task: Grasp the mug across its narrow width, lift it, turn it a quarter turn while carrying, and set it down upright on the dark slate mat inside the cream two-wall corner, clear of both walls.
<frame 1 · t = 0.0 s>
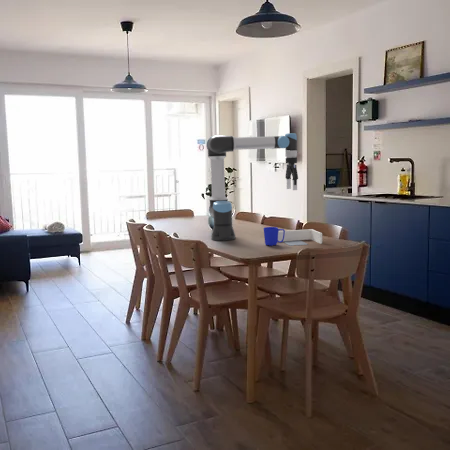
hand: (291, 189, 349), 28 cm above the table, fingers open, 13 cm apart
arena: (295, 242, 310), on the table
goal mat: (295, 243, 308), on the table
mug: (274, 245, 304), on the table
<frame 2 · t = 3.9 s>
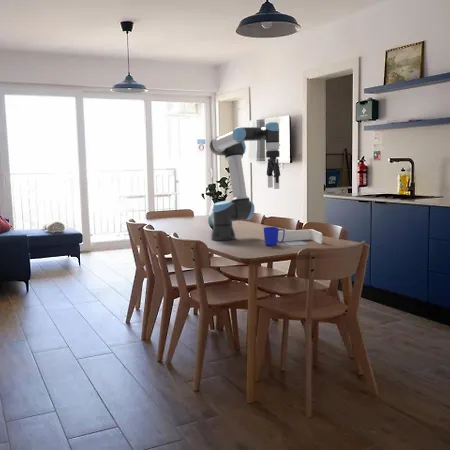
hand: (273, 188, 299), 33 cm above the table, fingers open, 13 cm apart
nothing on the table moved.
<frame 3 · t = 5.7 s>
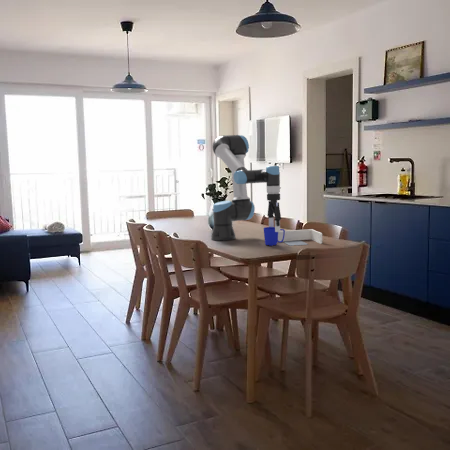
hand: (274, 230, 302), 9 cm above the table, fingers open, 13 cm apart
nothing on the table moved.
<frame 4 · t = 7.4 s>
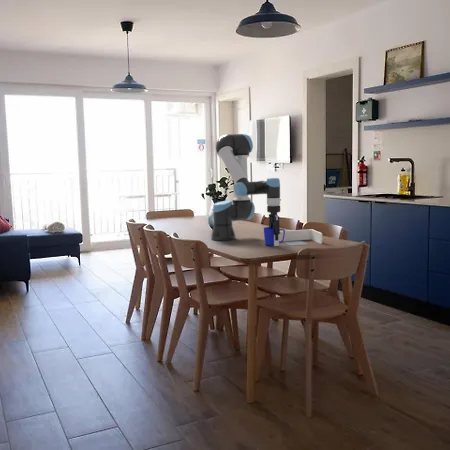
hand: (274, 244, 304), 0 cm above the table, fingers open, 8 cm apart
mug: (274, 245, 303), on the table, touching gripper
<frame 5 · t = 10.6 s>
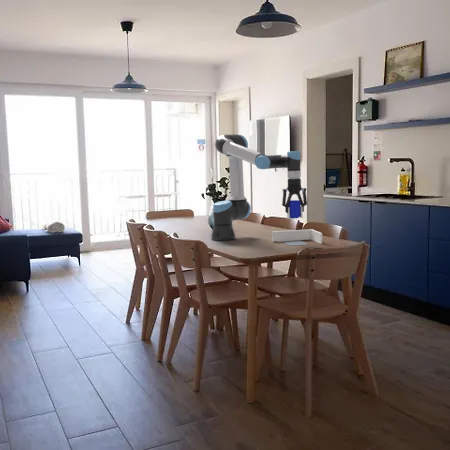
hand: (294, 217, 306), 15 cm above the table, fingers closed on mug, 7 cm apart
mug: (293, 218, 306), point 14 cm above the table, touching gripper
when the fingers open (2 cm above the table, at t = 13.6 s): mug drops 1 cm, resting on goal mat.
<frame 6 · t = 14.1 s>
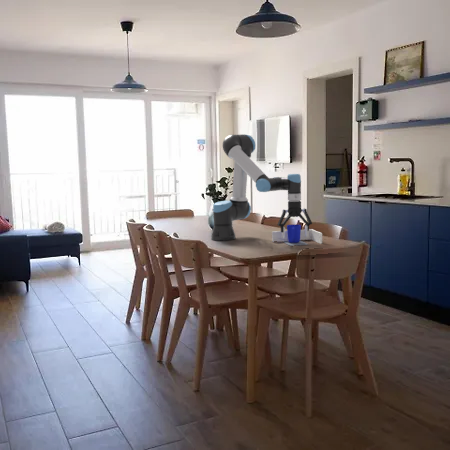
hand: (295, 237, 307), 4 cm above the table, fingers open, 13 cm apart
mug: (293, 243, 308), resting on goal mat
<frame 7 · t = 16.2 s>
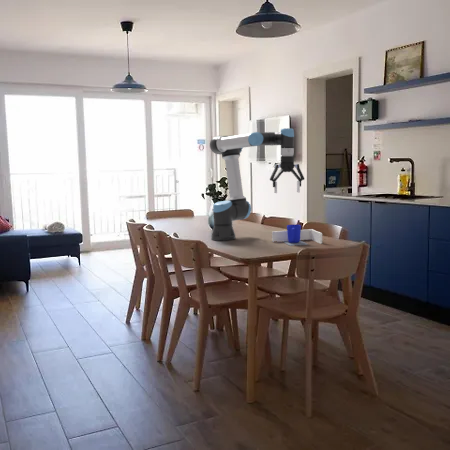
hand: (287, 192, 306), 29 cm above the table, fingers open, 13 cm apart
nothing on the table moved.
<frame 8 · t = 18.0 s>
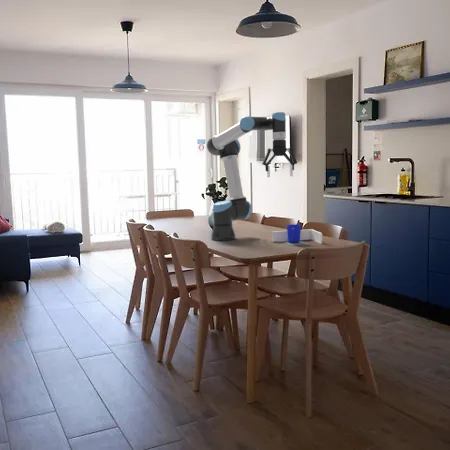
hand: (279, 176, 306), 39 cm above the table, fingers open, 13 cm apart
nothing on the table moved.
at the end: mug inside the target area (0.7 cm from its centre), resting on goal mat; mug tilted 0°; mug touching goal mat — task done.
